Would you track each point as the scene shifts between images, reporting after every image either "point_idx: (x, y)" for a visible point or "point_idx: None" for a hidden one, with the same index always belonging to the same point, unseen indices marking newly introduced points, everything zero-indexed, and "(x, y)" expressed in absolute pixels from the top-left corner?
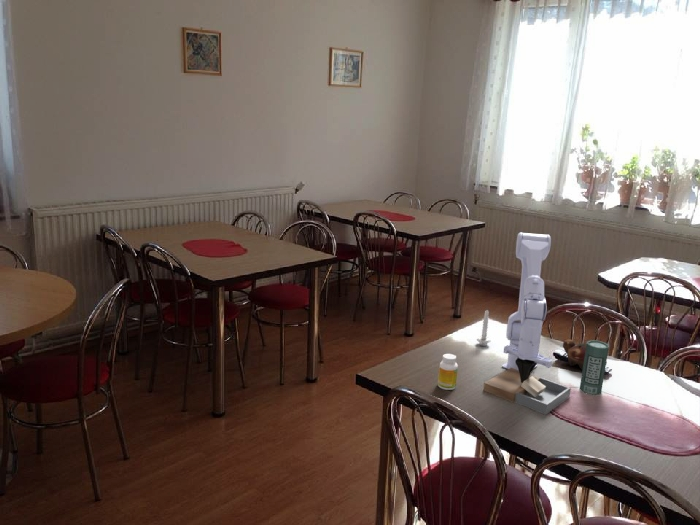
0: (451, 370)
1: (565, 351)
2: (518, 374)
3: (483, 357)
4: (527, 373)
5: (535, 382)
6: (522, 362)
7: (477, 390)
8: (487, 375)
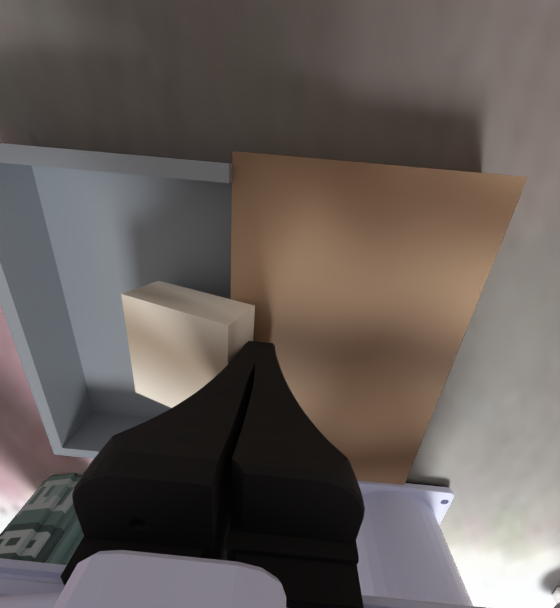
0: None
1: None
2: (341, 442)
3: (551, 516)
4: (202, 394)
5: (181, 381)
6: (239, 494)
7: (525, 144)
8: (498, 381)
